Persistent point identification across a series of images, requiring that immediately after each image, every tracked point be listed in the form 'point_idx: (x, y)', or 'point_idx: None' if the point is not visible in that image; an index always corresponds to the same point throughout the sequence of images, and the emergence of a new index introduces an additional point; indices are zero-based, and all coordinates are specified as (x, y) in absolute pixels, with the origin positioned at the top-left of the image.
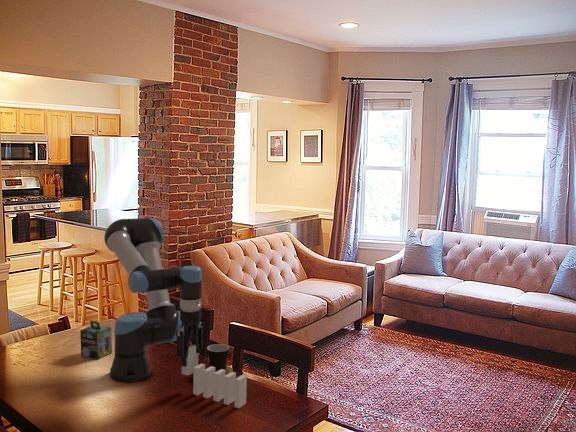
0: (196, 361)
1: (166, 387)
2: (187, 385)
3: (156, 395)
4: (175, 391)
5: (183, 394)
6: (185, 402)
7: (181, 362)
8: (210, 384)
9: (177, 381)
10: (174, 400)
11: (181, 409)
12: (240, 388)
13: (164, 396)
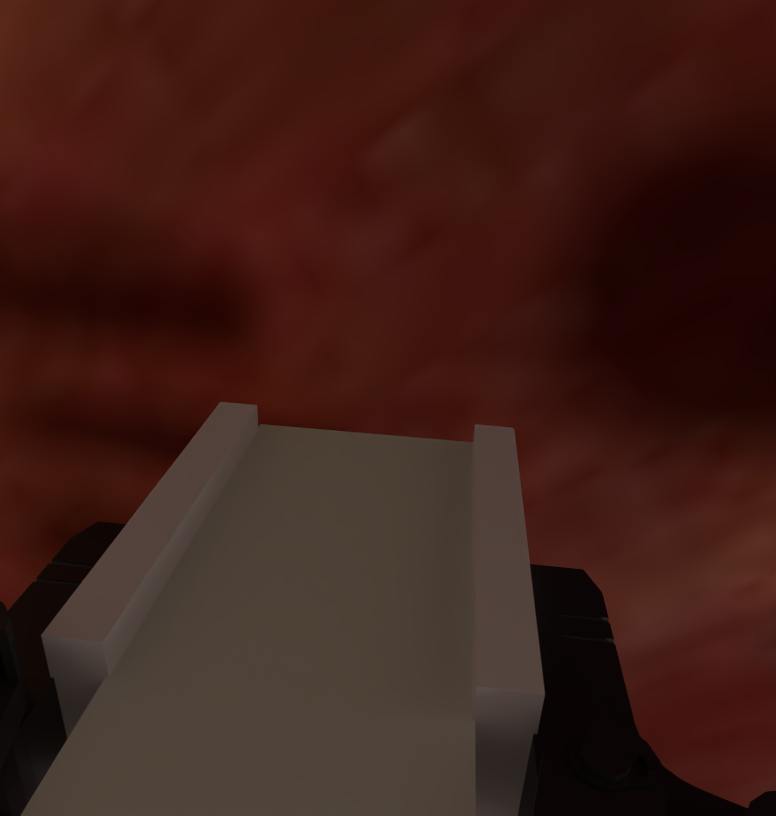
0: None
1: (288, 22)
2: (495, 252)
3: (29, 79)
4: (265, 226)
5: (259, 360)
6: (134, 478)
7: (38, 584)
8: None
9: (550, 25)
10: (90, 360)
11: (13, 519)
12: None
13: (80, 195)
